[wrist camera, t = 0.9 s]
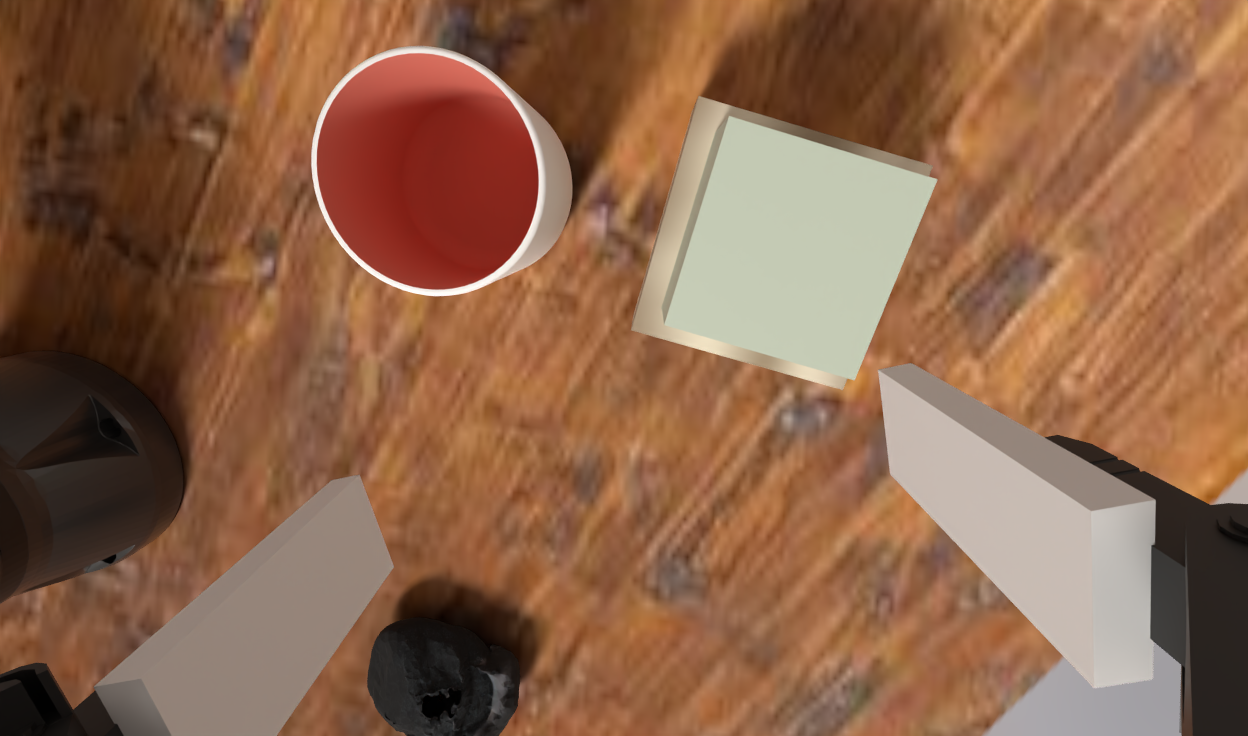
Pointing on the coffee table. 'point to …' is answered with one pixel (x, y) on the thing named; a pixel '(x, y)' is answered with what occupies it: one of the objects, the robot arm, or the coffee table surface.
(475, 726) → the rock
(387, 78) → the cup
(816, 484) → the coffee table surface
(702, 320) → the tower top
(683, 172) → the tower base
